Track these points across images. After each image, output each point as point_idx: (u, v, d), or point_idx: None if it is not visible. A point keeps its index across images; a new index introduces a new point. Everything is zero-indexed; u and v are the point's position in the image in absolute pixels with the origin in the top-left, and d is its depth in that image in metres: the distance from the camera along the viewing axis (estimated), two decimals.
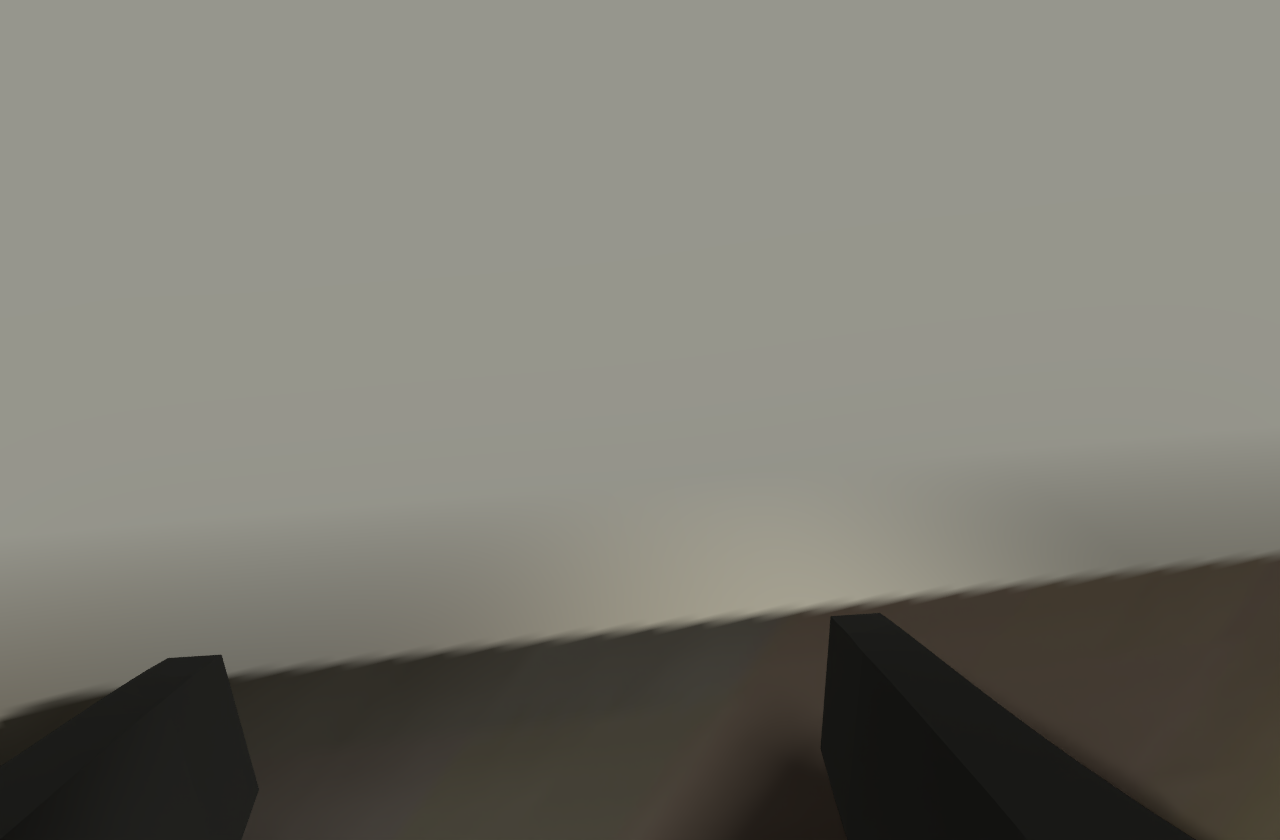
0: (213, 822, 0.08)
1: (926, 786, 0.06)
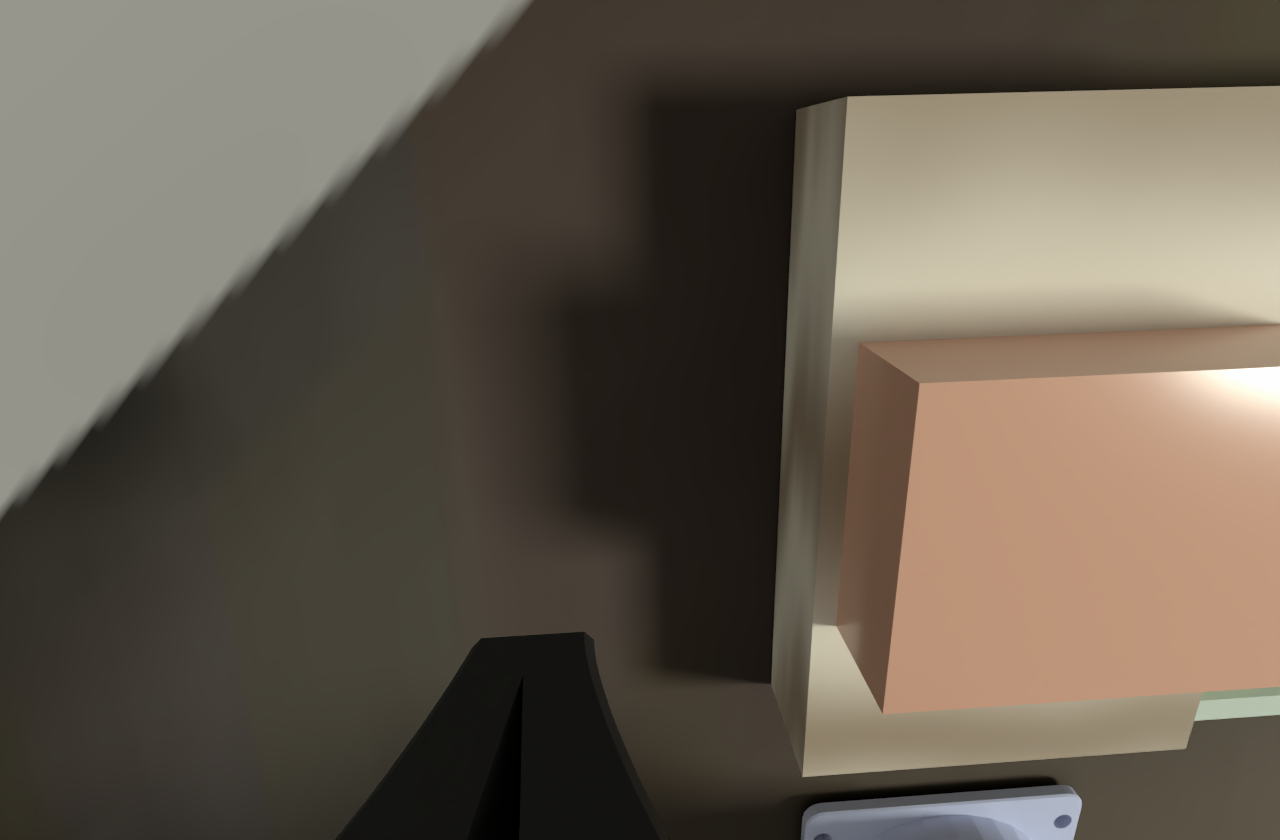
0: None
1: None
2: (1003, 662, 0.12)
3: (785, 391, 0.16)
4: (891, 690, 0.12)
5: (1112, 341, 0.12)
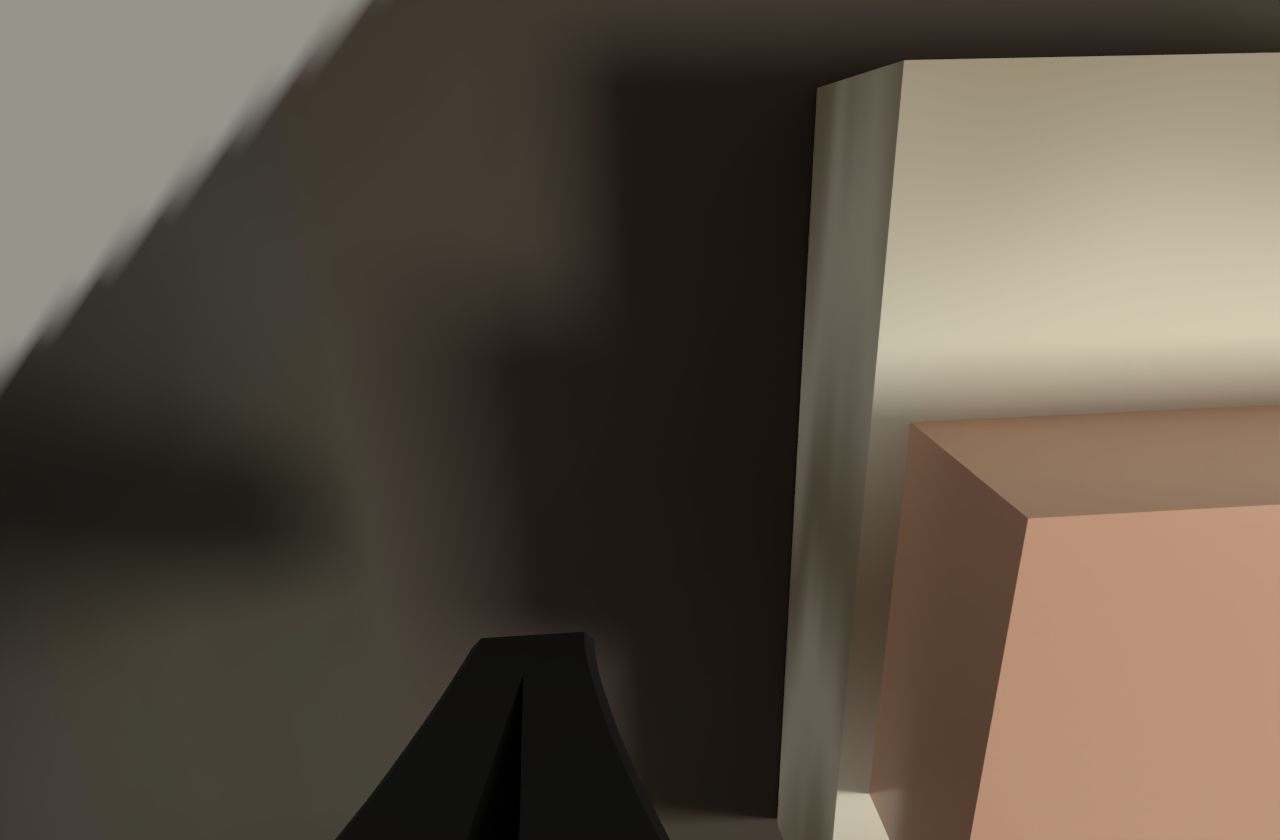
0: None
1: None
2: None
3: (798, 465, 0.12)
4: None
5: None
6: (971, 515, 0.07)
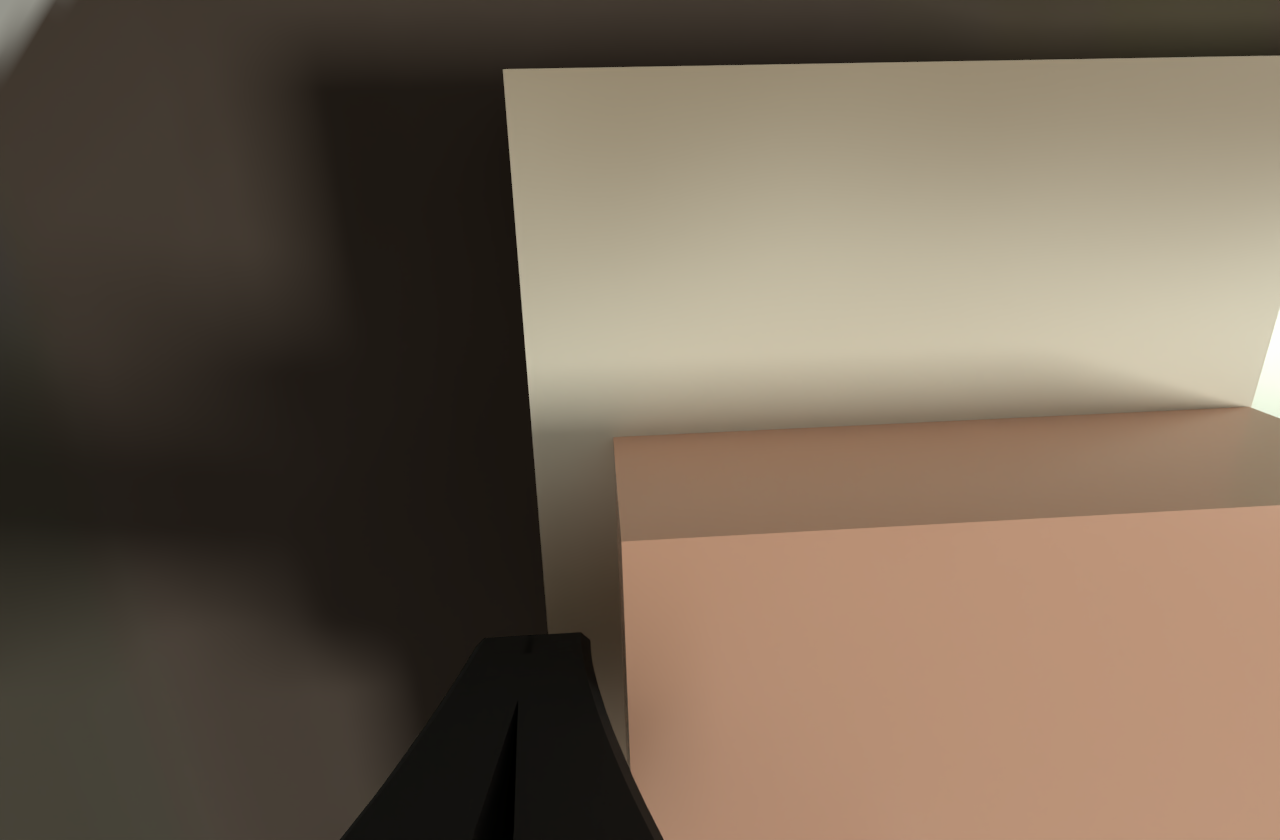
0: None
1: None
2: None
3: None
4: None
5: (981, 441, 0.08)
6: (619, 535, 0.07)
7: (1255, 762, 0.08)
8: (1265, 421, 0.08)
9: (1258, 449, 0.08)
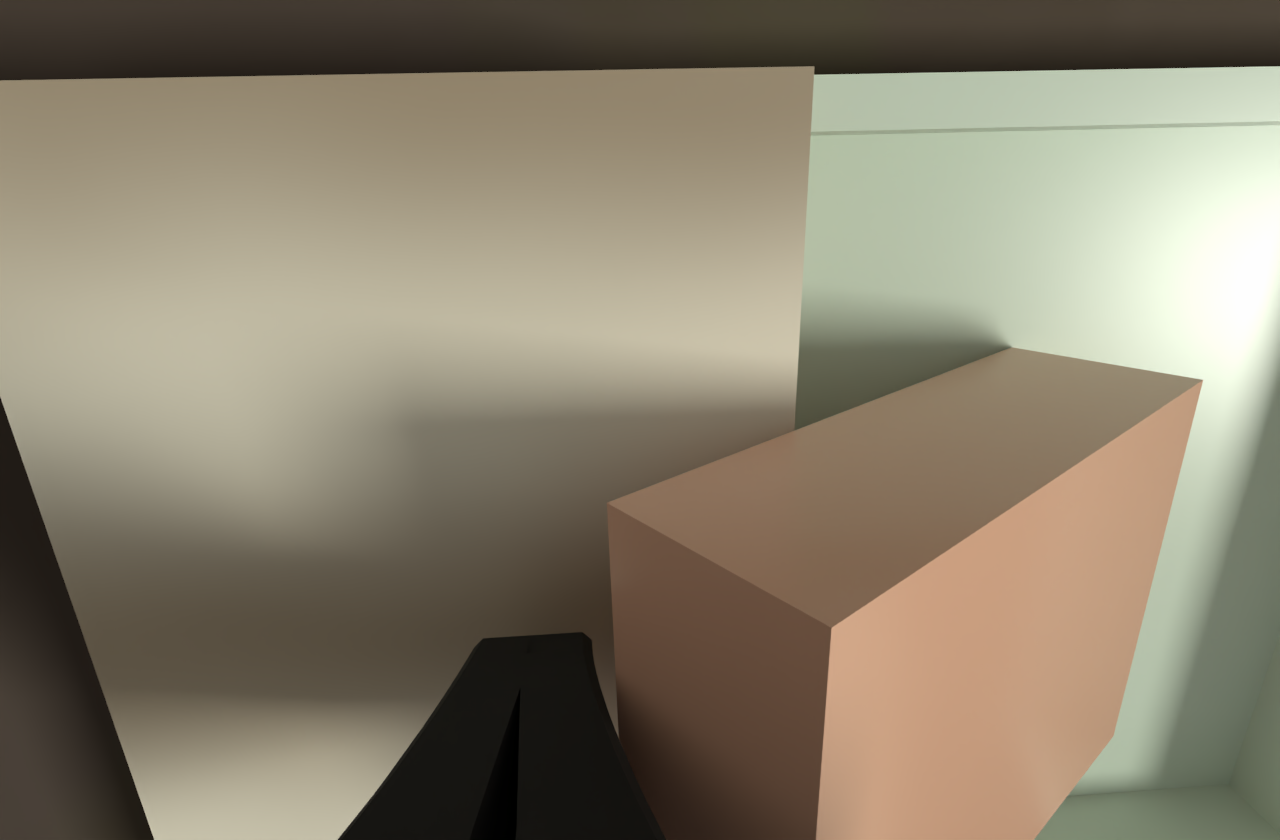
0: None
1: None
2: None
3: None
4: None
5: (920, 413, 0.09)
6: (732, 621, 0.06)
7: (1118, 617, 0.10)
8: (1037, 355, 0.11)
9: (1071, 377, 0.10)
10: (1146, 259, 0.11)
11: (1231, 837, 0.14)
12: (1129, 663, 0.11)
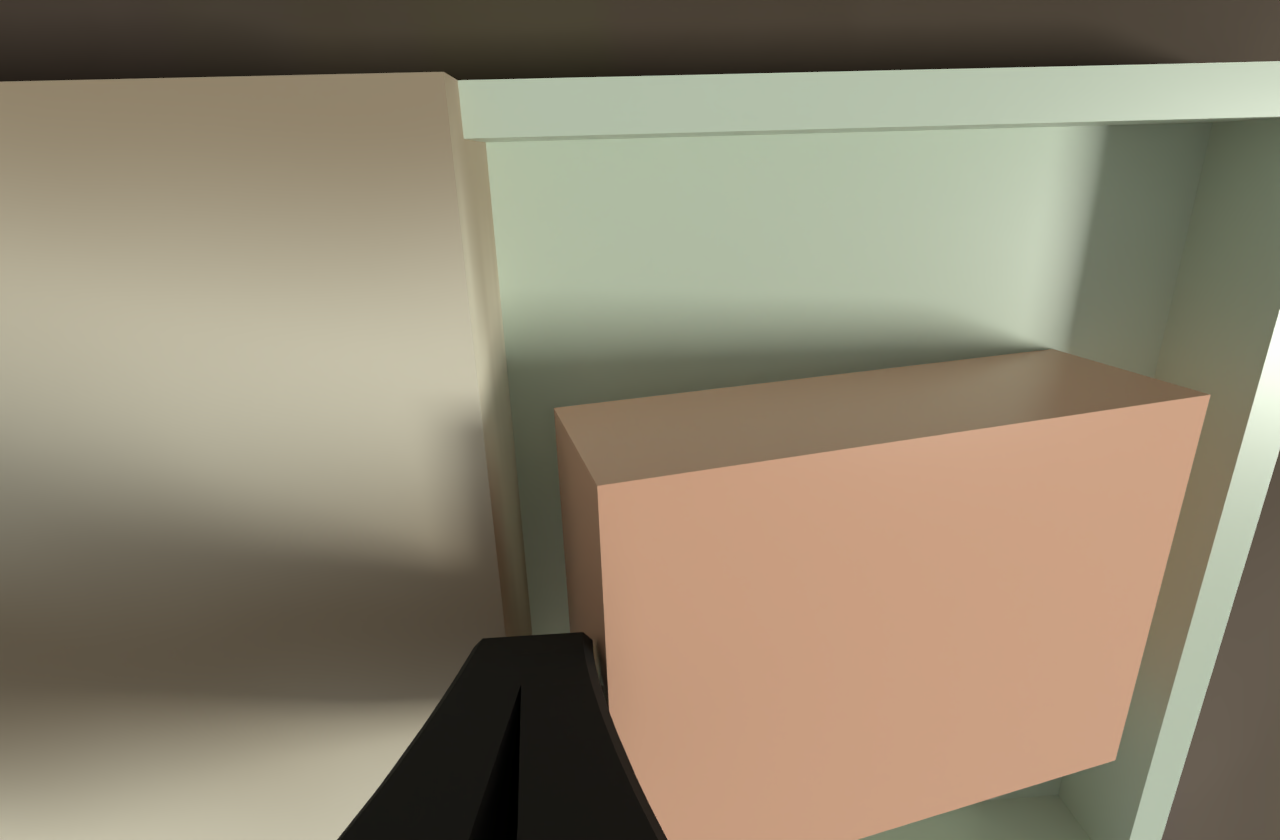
0: None
1: None
2: (766, 816, 0.09)
3: None
4: None
5: (865, 387, 0.10)
6: (580, 488, 0.08)
7: (1081, 620, 0.10)
8: (1065, 358, 0.11)
9: (1065, 377, 0.10)
10: (907, 264, 0.11)
11: None
12: (1127, 684, 0.11)
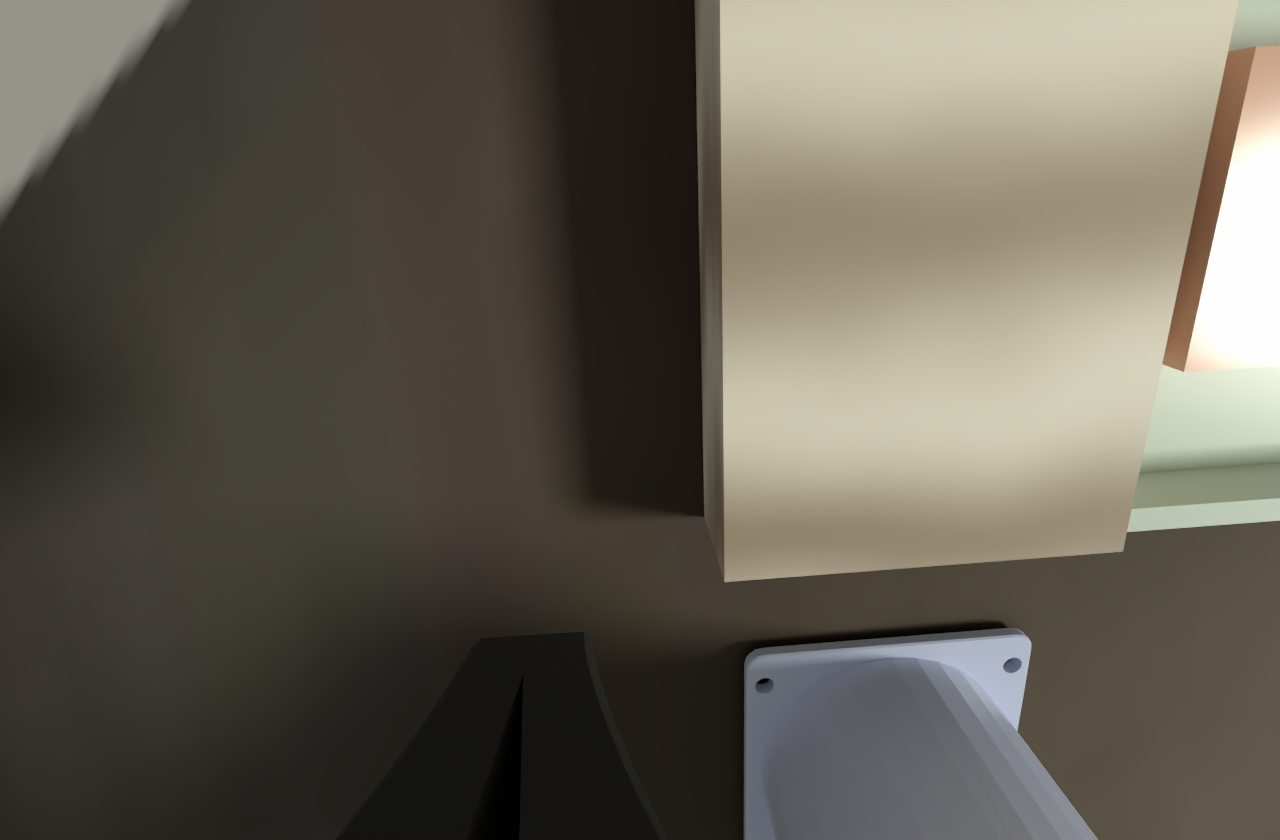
0: None
1: None
2: None
3: (698, 184, 0.16)
4: (1193, 348, 0.15)
5: None
6: None
7: None
8: None
9: None
10: None
11: None
12: None
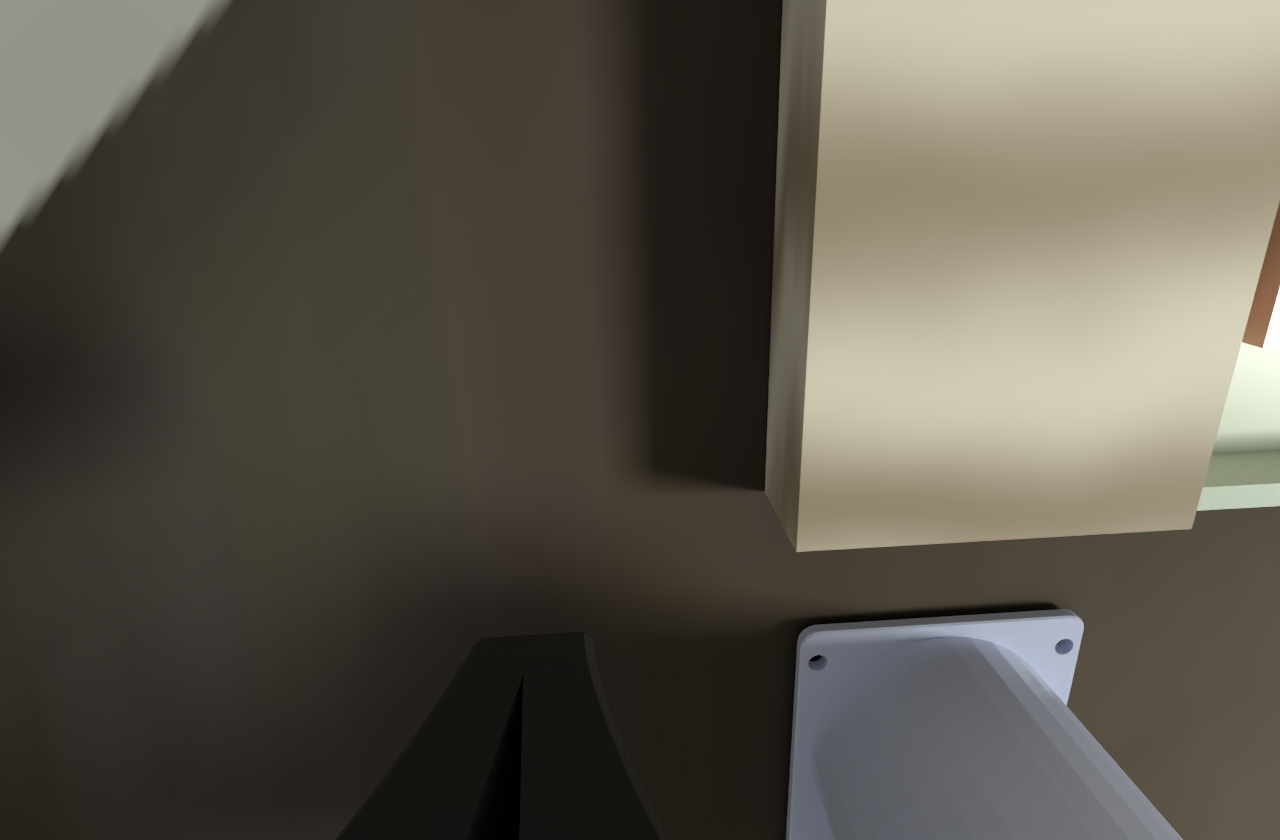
0: None
1: None
2: None
3: (778, 152, 0.15)
4: (1273, 324, 0.15)
5: None
6: None
7: None
8: None
9: None
10: None
11: None
12: None
